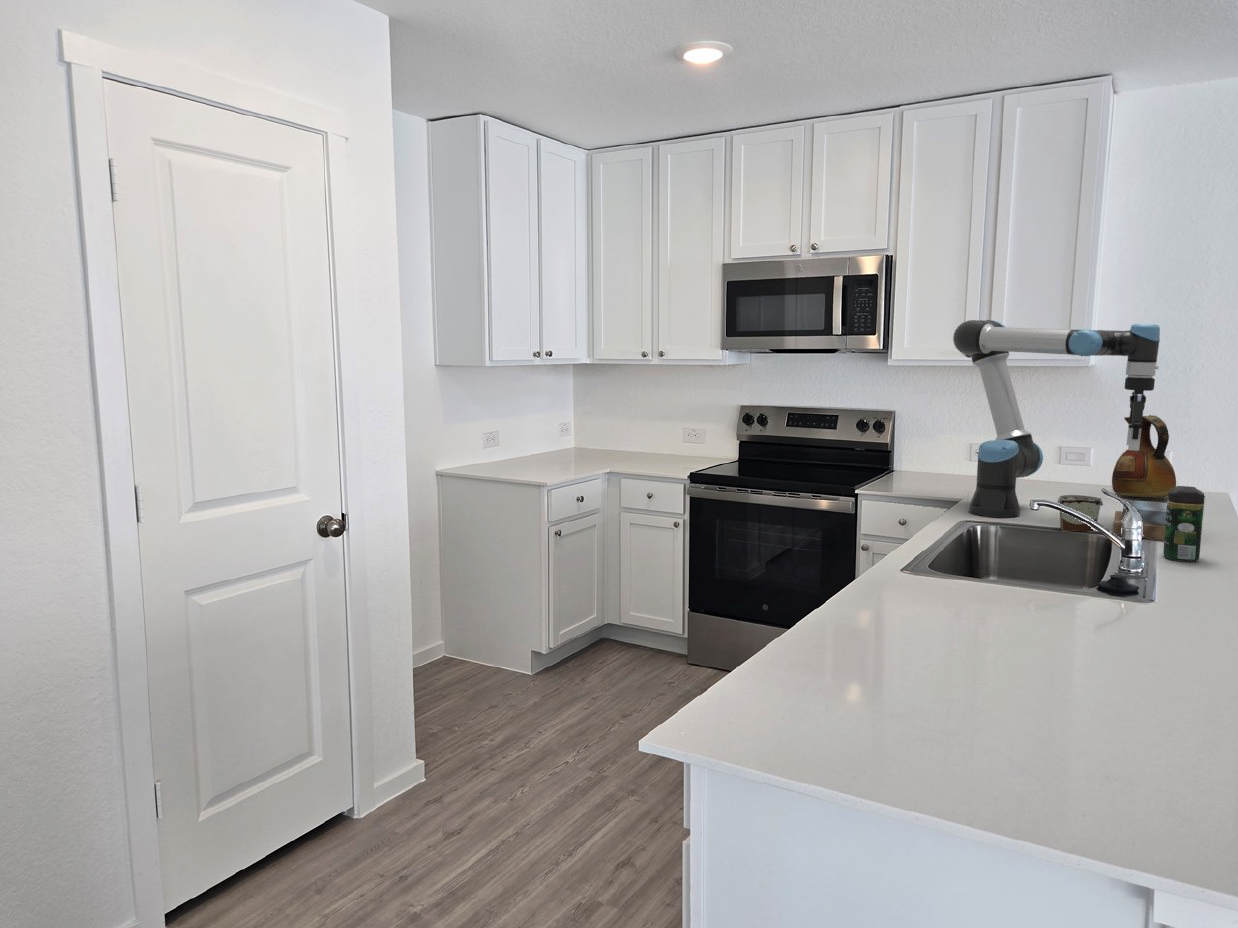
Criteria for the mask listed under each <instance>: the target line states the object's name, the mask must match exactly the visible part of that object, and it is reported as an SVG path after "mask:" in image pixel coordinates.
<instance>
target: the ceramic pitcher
mask: <svg viewBox="0 0 1238 928" xmlns="http://www.w3.org/2000/svg"><path fill="white" fill-rule="evenodd" d="M1129 417H1130V416H1127V417H1125V416H1124V418H1123V420H1124V421H1126V423H1127V425H1129V424H1131V423H1129ZM1142 424H1143V425H1142V427H1141V437H1140V446H1139V451H1134V450H1128V449H1126V450H1125V451H1123V453H1122V454H1120V456H1119V457H1118V459H1117V461H1116V462H1115V465H1114V468H1113V472H1112V476H1111V488H1112V490H1113V492H1114V493H1116V494H1118V495H1122V496H1126V497H1133V498H1168V494H1169V490H1170V489H1172V488H1175V487H1177V477H1176V472H1175V470H1174V467H1173V466H1172V464H1171V461H1170V460H1169V459H1168V457H1167V456H1166V455H1165V453H1166V450H1167V447H1168V445H1169V441H1170V440H1169V438H1170V435H1169V430H1168V427H1167V424H1166V423H1165V421H1163V419H1161V418H1160V417H1158V416H1157V415H1152V414H1149V415H1148V416H1147V415H1143V418H1142ZM1152 426H1153V427H1154V428H1155V431H1156V435H1157V445H1156V447H1154V445H1153V442H1152V439H1151V427H1152Z"/></svg>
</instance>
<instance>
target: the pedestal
mask: <svg viewBox="0 0 1238 928" xmlns="http://www.w3.org/2000/svg"><path fill="white" fill-rule="evenodd" d="M1124 501H1125V502H1128V503H1129V504H1130V505H1131V506H1132V507H1134V508H1135V509H1136V510H1137V512H1138V513H1139V514H1140V516H1141V518H1142V522H1143V535H1144V538H1150V539H1155V540H1154V541H1157V540H1158V541H1159V542H1164V536H1165V521H1166V510H1167V502H1159V501H1148V500H1147V501H1144V500H1132V499H1124V500H1123V502H1124ZM1125 513H1126V507H1125V506H1124V504H1123V507H1122V510H1116V511H1115V513H1114V518H1113V523H1112V524H1113V526H1112V534H1113V533H1115V534H1118V535H1121V520H1122V519H1123V517H1124V515H1125Z"/></svg>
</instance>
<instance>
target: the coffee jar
mask: <svg viewBox="0 0 1238 928" xmlns="http://www.w3.org/2000/svg"><path fill="white" fill-rule="evenodd" d="M1205 498H1206V496H1205V493H1204V492H1203V491H1201V490H1200V489H1197V488H1196V487H1195V486H1189V485H1188V486H1187V485H1185V486H1184V485H1176V487H1175V488H1172V489H1170V490H1169V494H1168V497H1167V500H1166V501H1167V502H1166V503H1167V510H1166V521H1165V536H1164V541H1163V551H1162V552H1163V556H1164V557H1165V558H1166V559H1170V560H1175V561H1177V562H1185V563H1186V562H1198V561H1199V560H1200V554H1201V545H1202V544H1201V542H1202V533H1203V532H1202V531H1203V519H1204V509H1205V508H1204V507H1205Z"/></svg>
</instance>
